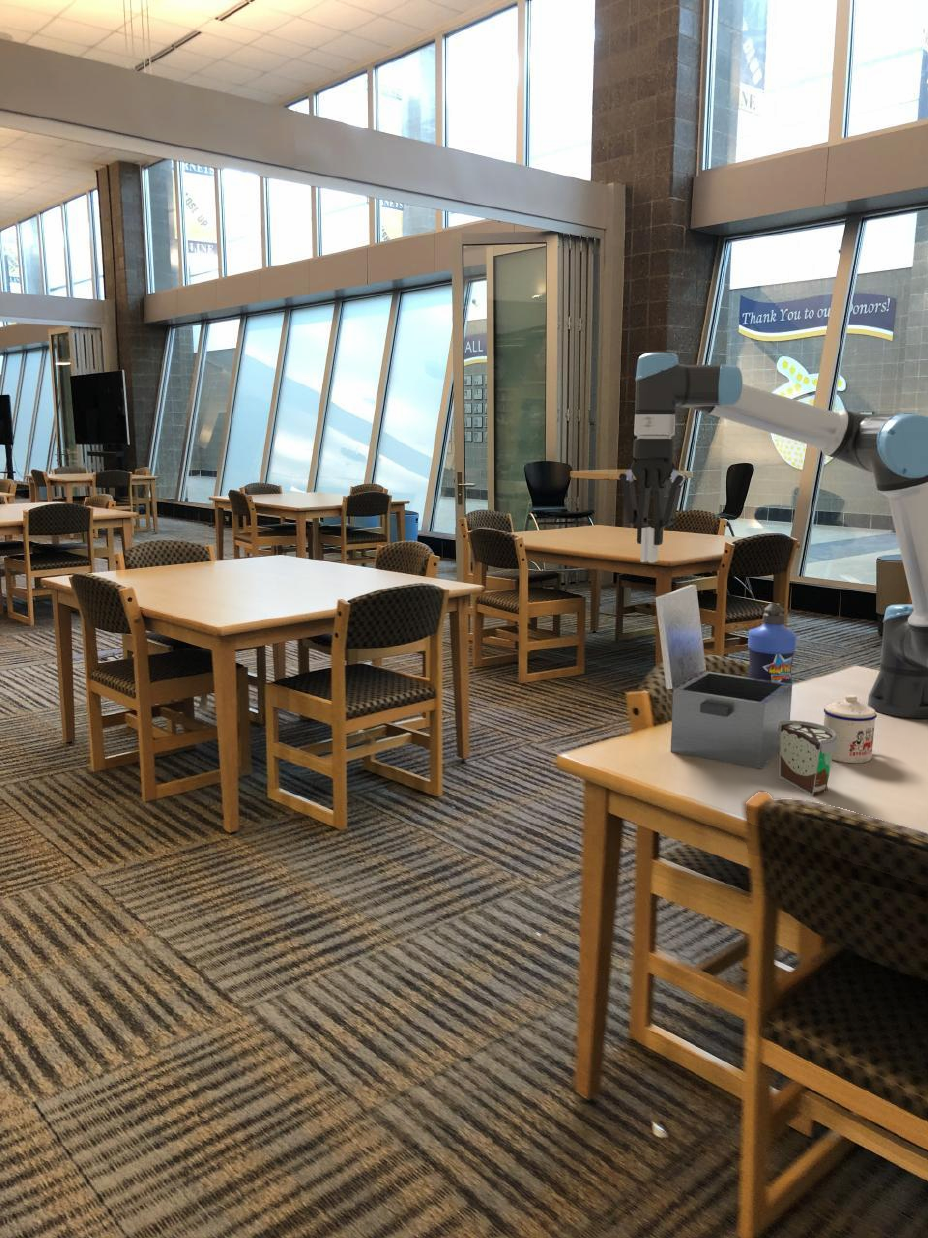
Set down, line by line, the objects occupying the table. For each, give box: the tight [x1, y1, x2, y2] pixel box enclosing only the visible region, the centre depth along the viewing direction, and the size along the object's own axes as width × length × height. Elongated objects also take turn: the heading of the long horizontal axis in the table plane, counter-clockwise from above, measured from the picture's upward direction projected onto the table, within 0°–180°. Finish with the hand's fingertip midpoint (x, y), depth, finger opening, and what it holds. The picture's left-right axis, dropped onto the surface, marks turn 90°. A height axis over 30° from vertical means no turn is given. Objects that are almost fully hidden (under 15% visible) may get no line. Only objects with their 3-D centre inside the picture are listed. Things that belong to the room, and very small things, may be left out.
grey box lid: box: [655, 584, 707, 690], centre depth 186 cm, size 17×18×3 cm
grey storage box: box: [670, 670, 793, 770], centre depth 183 cm, size 17×21×12 cm
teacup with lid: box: [823, 694, 878, 764], centre depth 179 cm, size 12×9×12 cm
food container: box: [778, 719, 838, 797], centre depth 164 cm, size 12×6×10 cm, turn 17°
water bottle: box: [747, 602, 798, 720], centre depth 197 cm, size 9×9×25 cm
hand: (648, 561), depth 187 cm, fingers closed
